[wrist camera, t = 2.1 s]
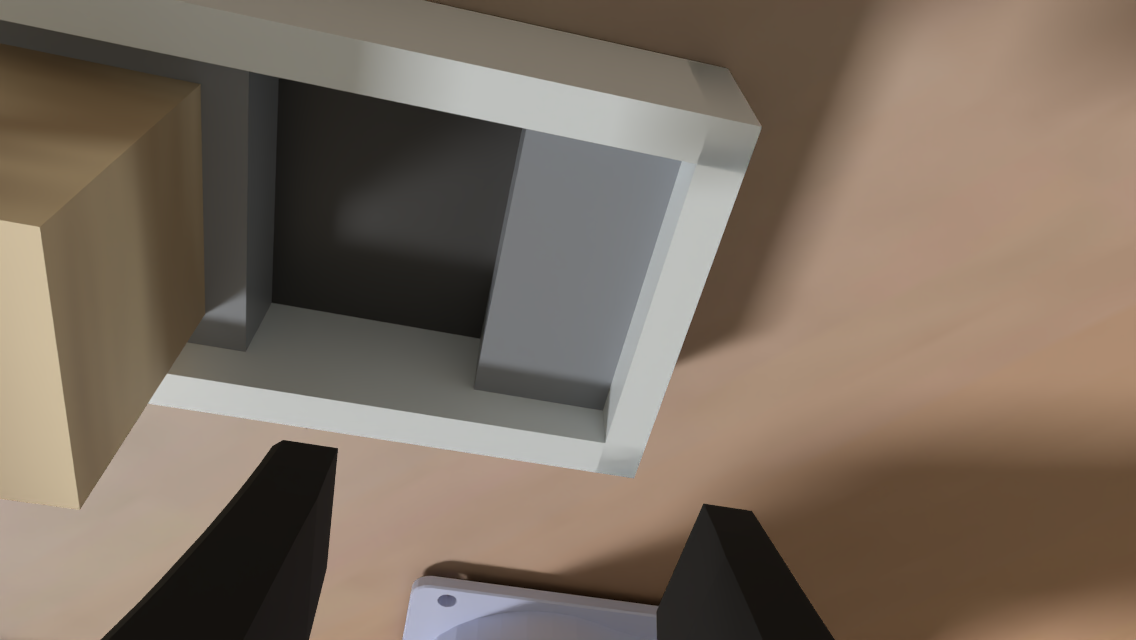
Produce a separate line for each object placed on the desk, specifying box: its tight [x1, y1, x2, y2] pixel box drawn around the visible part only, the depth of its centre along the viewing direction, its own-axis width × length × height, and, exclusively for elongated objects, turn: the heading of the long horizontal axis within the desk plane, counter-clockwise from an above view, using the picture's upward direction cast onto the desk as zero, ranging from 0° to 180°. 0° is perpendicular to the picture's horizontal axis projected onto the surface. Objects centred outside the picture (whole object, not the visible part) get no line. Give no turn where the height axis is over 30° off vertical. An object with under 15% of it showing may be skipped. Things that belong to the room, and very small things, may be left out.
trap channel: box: [0, 0, 762, 478], centre depth 15 cm, size 23×11×3 cm, turn 77°
